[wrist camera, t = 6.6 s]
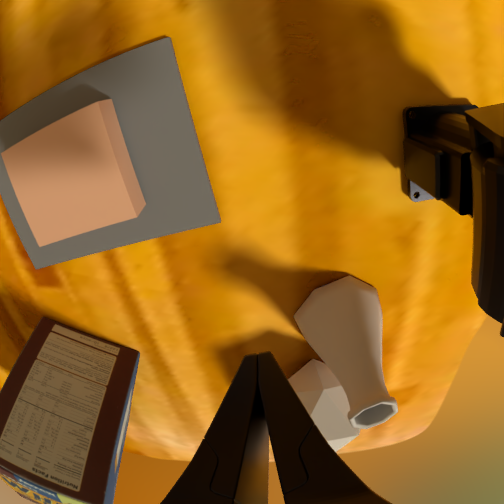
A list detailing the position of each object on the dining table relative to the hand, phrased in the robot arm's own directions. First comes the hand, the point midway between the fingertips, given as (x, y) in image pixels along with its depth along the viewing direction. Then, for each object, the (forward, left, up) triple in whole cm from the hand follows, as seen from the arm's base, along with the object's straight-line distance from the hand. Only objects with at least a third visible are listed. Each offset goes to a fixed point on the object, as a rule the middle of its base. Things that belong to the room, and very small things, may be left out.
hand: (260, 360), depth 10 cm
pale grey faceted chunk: (-2, +18, -12) cm, 22 cm away
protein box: (+21, +14, -12) cm, 28 cm away
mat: (+10, -6, -12) cm, 17 cm away
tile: (+6, -6, -10) cm, 13 cm away
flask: (-5, +10, -12) cm, 17 cm away
